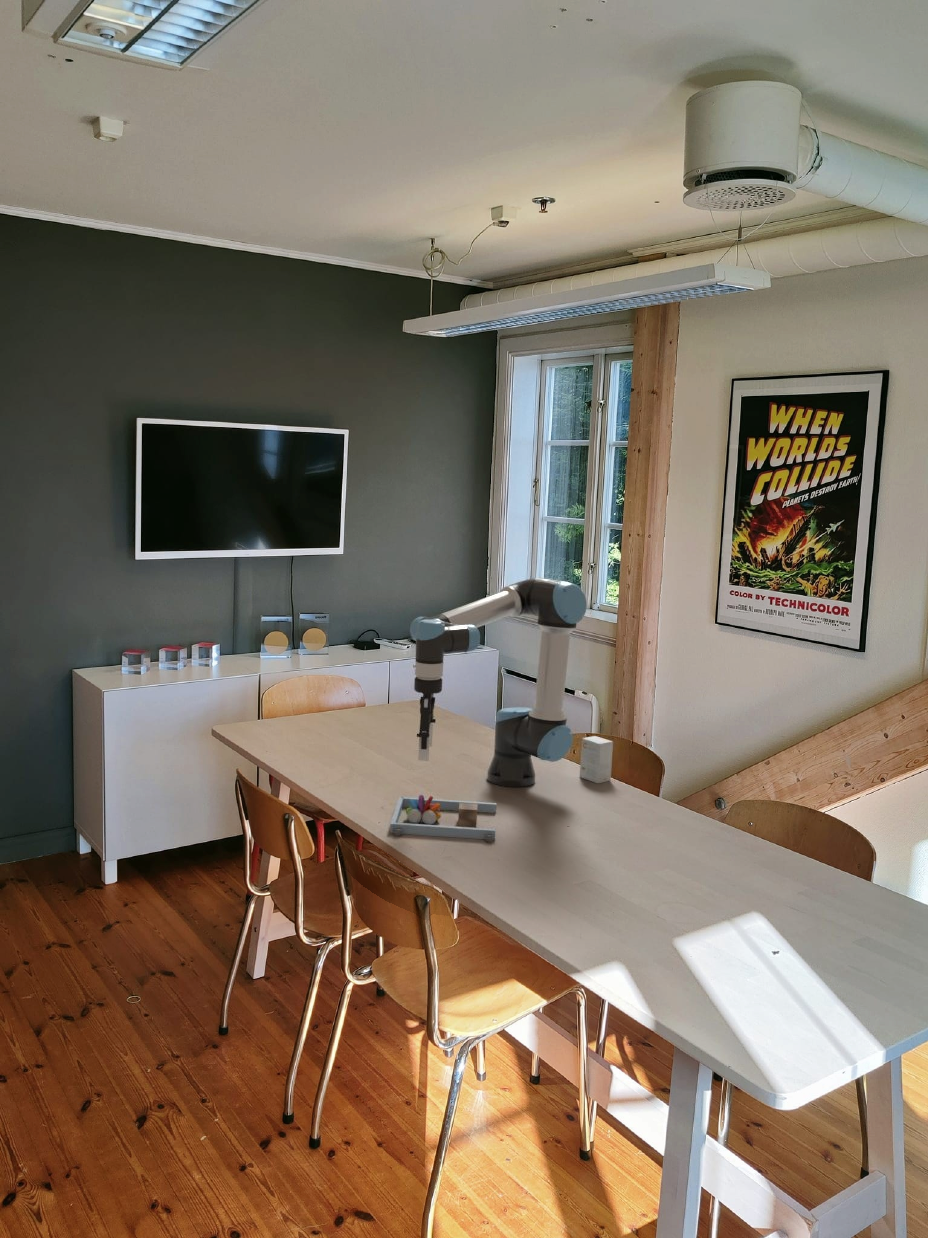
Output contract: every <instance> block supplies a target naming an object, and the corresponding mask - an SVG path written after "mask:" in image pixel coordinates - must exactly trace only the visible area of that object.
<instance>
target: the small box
mask: <svg viewBox="0 0 928 1238" xmlns="http://www.w3.org/2000/svg"><path fill="white" fill-rule="evenodd" d="M581 740H582V741H581V752H580V764H579V765H580V766H579V778H582V779H584V780H587V781H590V782H593V783H595V784H601V783H606V782H608V781H611V778H612V765H613V764H612V762H613V749H614V741H613V740H610V739H605V738H603V737H599V736H596V735H592V736H588V737H582V739H581Z"/></svg>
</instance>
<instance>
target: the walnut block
mask: <svg viewBox="0 0 928 1238" xmlns="http://www.w3.org/2000/svg"><path fill="white" fill-rule="evenodd" d="M477 805H478V804H469V803H459V811H458V815H457V816H458V821H457V827H469V828H477V823H478V821H477V820H478V812H477Z"/></svg>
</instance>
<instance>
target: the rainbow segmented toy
mask: <svg viewBox="0 0 928 1238" xmlns="http://www.w3.org/2000/svg"><path fill="white" fill-rule="evenodd" d="M418 798H419V803H418V802H417V801H416V800H415V799H411V800H410V805H411V807H406V808H407V809H406V810H405V814H406V815H407V820H408V822H410V824H419V822H421V820H422V822H423V823H424V825H434V824H435V823H436V822H437V820H440V819H441V816H442V815H441V813H440V810H441V809H439V808H440V804H439V803H436V804H430V803H431V801H432V799H434V797H433V796H432V795H430V796H429V797H428V798H427V799H428V801H427V803H426V804H425V801H424V798H425V797H424V795H423V794H419V796H418Z"/></svg>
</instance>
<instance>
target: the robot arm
mask: <svg viewBox="0 0 928 1238" xmlns="http://www.w3.org/2000/svg"><path fill="white" fill-rule="evenodd" d="M587 605H588V604H587V597H586V594H585V592H584V591H583V590H582V588H581V587H580V586H579V585H577V584H575V583H571V582H569V581H565V580H557V579H556V580H555V579H548V578H543V577H533V578H528V579H525V580H520V581H517V582H515V583H512V584H509V585H506V586H504V587H502V589H501V590H500V591H499V592H497V593H495V594H491V595H489V596H487V597H483V598H480V599H478V600H475V601H473V602H470V603H467V604H464V605H462V606H458V607H456V608H453V609H452V610H451V609H450V610H448V611H445V612H442V613H440V614H437V615H434V616H431V617H428V616H418V617H416V618H415V619H414V620H412V622H411V624H410V628H409V633H410V637H411V638H412V640H413V641H415V663H414V664H413V665H412V667H413V668H415V669H414V675H415V677H414V685H413V689H414V691H415V692H417V693H419V694H420V693H421V694H422V696H420V698H419V706H420V707H419V714H420V719H419V732H418V733H416V737H417V738H418V761H422V762H423V761H424V762H425V761H427V762H429V759H430V758H429V757H430V754H429V753H430V747H431V748H432V747H433V732H434V724H436V720H437V719H435V716H434V709H435V704H436V696H435V697H434V695H435V694H440V693H441V692H442V690H443V679H442V677H443V676H444V656H445V655H447V654H458V653H459V654H460V653H468V652H473V651H475V650H477V649H478V648H479V646H480V643H481V634H480V630H479V629H478V628H480V627H482V626H486V625H488V624H490V623H493V622H496V621H498V620H501V619H504V618H506V617H512V618H516V617H519V616H522V615H527V616H530V615H531V616H536V617H537V626H538V627H539V628H540V630H541V635H540V638H541V639H540V646H539V657H538V666H537V674H536V684H535V685H536V686H535V697H534V705H533V708H531V707H523V706H522V707H521V706H518V707H517V706H516V707H505V708H501V709H499V710H498V711H497V713H496V719H495V731H494V750H493V751H494V752H493V756H492V759H491V762H490V764H489V767H488V769H487V775H486V776H487V777H486V779H487V780H488V781H489V782H490V783H492V784H495V785H499V786H501V787H502V786H503V787H507V788H508V787H510V788H521V787H528V786H532V785H533V784H535V783H536V773H535V767H534V764H533V760H532V757H534V758H538V759H539V760H542V761H547V762H551V763H552V762H558V761H560V760H562V759H563V758H564V757H565V756H566V755H567V754H568V753H569V751H570V749H571V747H572V744H573V742H574V741H573V740H574V736H573V735H574V734H573V732H572V730H571V728H570V727H569V726H567V720H568V717H567V715H566V714H565V712H564V711H563V707H564V699H565V691H566V690H565V689H566V688H565V687H566V680H567V679H566V677H567V669H568V660H569V659H568V658H569V651H570V650H569V649H570V639H571V633H573V631H575V630H576V629H577V623H579V622H581V621H582V620H583V617H584V616H585V614H586V612H587Z"/></svg>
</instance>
